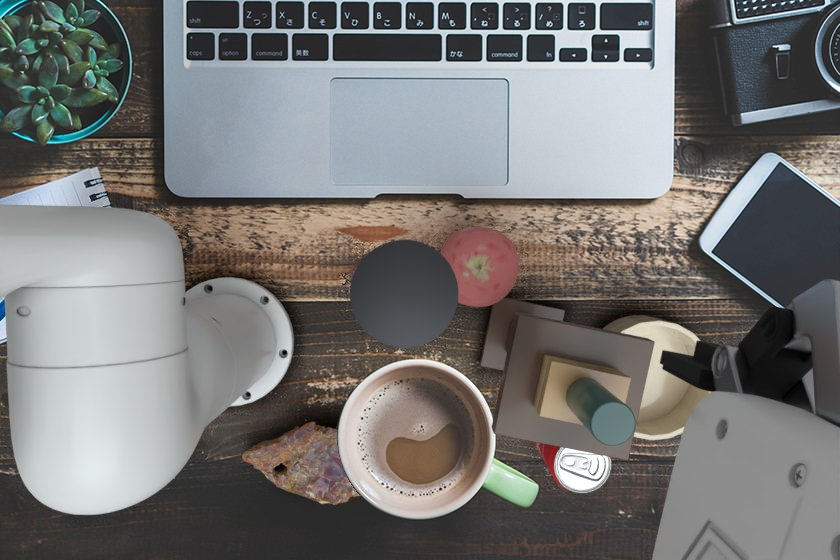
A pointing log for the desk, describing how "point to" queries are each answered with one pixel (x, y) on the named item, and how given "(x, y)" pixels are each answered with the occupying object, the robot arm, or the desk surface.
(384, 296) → the light fixture
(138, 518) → the desk surface
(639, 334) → the bowl
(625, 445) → the stand
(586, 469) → the beverage can
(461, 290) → the apple
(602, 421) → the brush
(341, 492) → the mineral specimen
